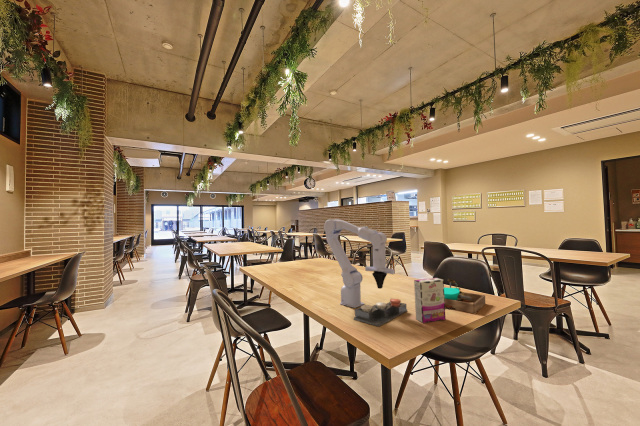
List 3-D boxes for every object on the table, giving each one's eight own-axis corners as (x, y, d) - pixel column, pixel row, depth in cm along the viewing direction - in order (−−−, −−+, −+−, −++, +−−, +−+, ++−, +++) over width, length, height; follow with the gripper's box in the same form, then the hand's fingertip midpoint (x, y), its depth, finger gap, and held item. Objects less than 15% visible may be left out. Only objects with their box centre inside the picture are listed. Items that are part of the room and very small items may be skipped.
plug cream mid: (374, 312, 118) (373, 304, 118) (379, 310, 121) (379, 301, 121) (383, 315, 115) (383, 306, 115) (388, 312, 118) (388, 303, 118)
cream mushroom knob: (359, 315, 115) (358, 306, 115) (365, 312, 118) (364, 304, 118) (368, 318, 112) (367, 309, 112) (374, 315, 115) (374, 306, 115)
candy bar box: (437, 316, 115) (436, 277, 116) (446, 320, 111) (444, 279, 111) (414, 319, 112) (413, 279, 113) (422, 323, 108) (421, 282, 108)
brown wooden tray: (424, 303, 132) (424, 295, 132) (438, 295, 145) (438, 288, 145) (475, 313, 117) (474, 304, 117) (485, 303, 130) (485, 295, 130)
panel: (352, 319, 114) (352, 310, 114) (382, 305, 131) (382, 297, 131) (380, 327, 105) (379, 317, 105) (408, 311, 122) (407, 303, 122)
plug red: (388, 308, 121) (388, 300, 121) (393, 306, 124) (393, 298, 124) (397, 310, 118) (397, 302, 118) (402, 308, 121) (402, 299, 121)
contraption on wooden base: (478, 304, 130) (477, 273, 131) (459, 311, 119) (458, 276, 120) (449, 298, 141) (448, 269, 142) (430, 304, 131) (429, 272, 132)
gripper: (361, 258, 128) (362, 287, 127) (388, 260, 118) (389, 292, 117) (369, 256, 133) (370, 284, 133) (396, 259, 123) (397, 289, 123)
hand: (380, 288), depth 125 cm, fingers closed
